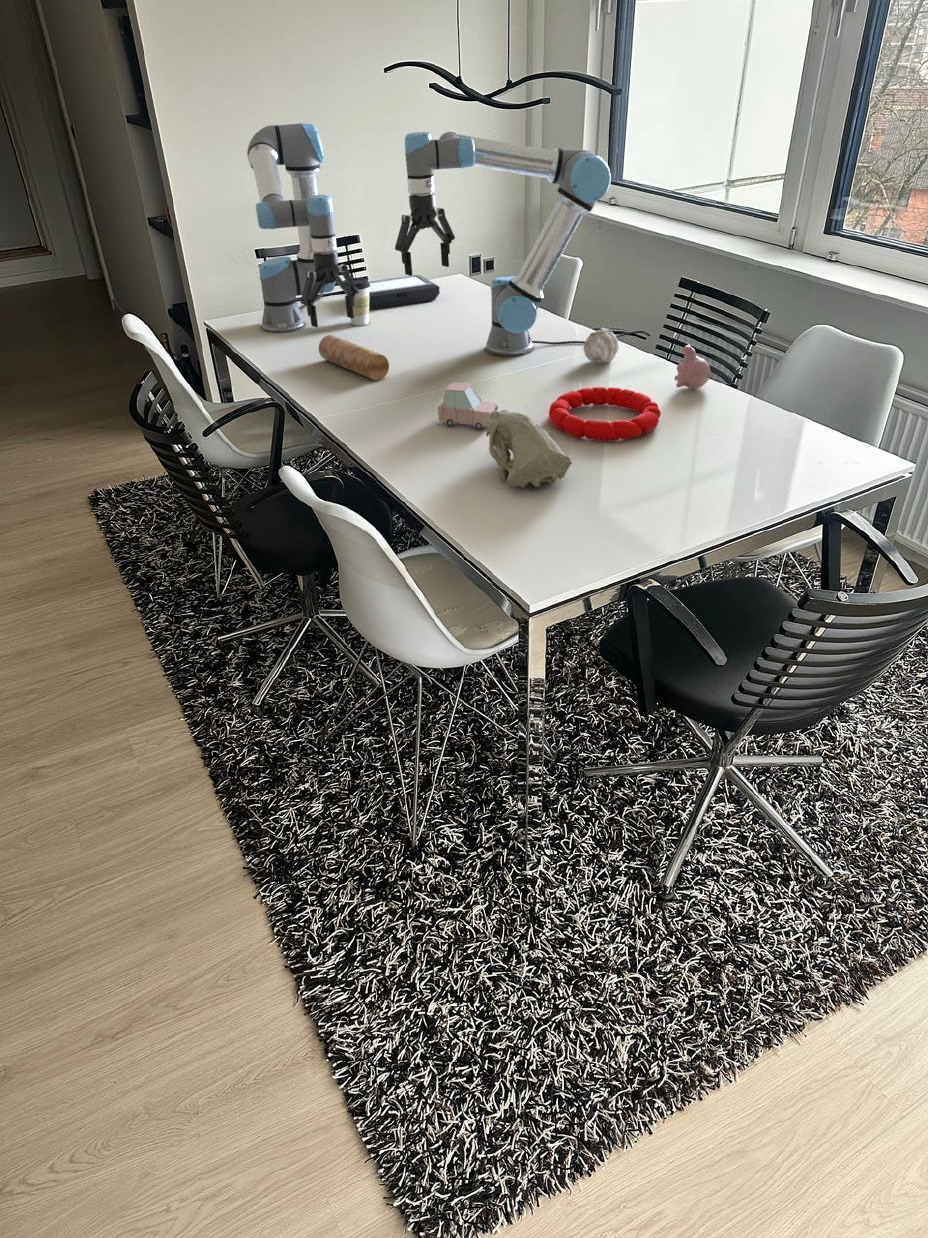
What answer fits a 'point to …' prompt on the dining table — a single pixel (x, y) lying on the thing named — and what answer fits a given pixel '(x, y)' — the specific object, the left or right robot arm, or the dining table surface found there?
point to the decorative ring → (604, 428)
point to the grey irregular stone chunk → (525, 450)
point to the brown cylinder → (354, 357)
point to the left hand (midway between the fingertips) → (332, 321)
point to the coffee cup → (360, 302)
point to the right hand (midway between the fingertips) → (427, 270)
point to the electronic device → (401, 291)
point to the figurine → (692, 370)
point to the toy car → (465, 406)
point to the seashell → (601, 346)
